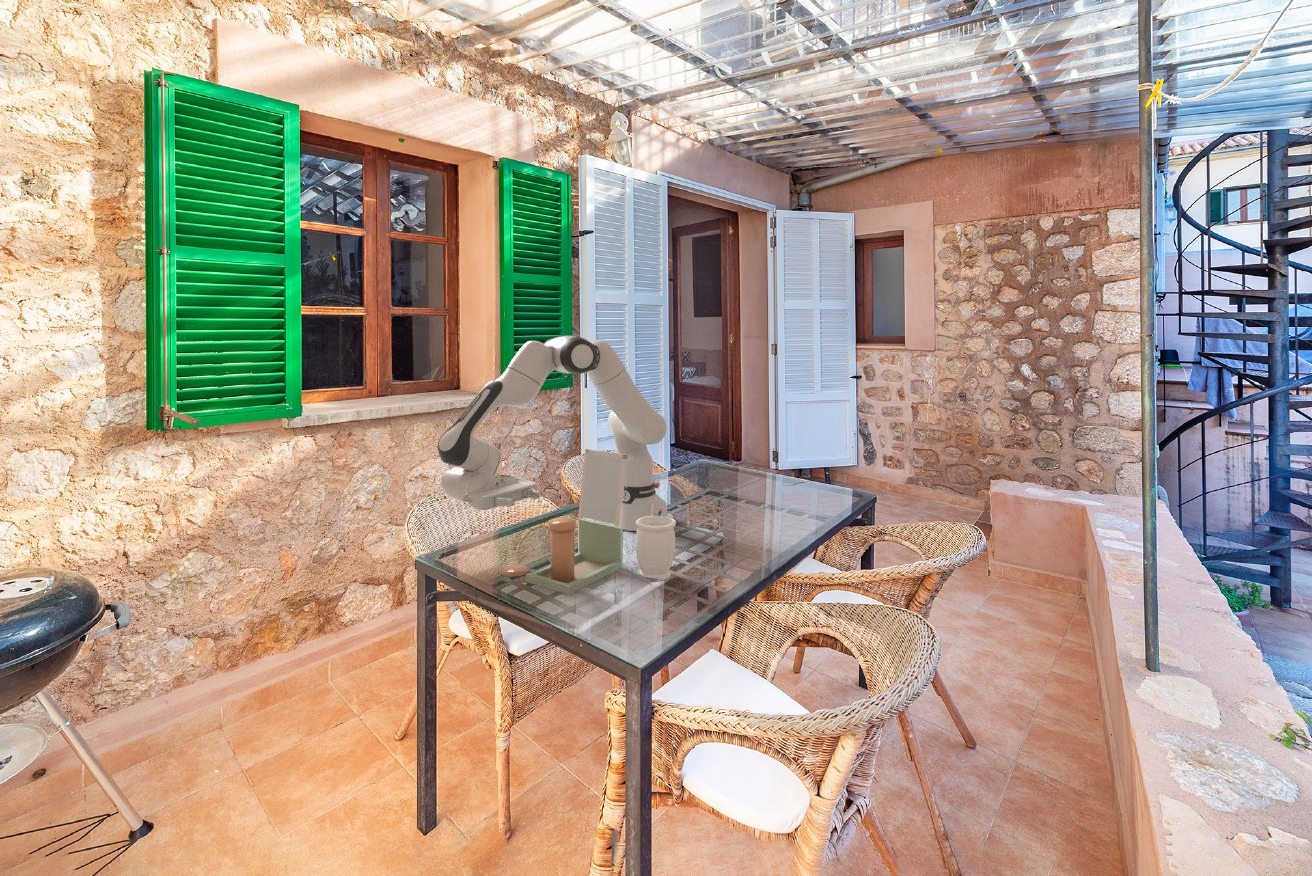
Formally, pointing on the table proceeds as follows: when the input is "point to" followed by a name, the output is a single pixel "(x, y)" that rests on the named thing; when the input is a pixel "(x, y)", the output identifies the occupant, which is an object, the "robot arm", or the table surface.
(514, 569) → the terracotta round disc
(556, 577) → the orange-brown capped cylinder
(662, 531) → the jar
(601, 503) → the lid
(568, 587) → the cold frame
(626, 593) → the table surface
